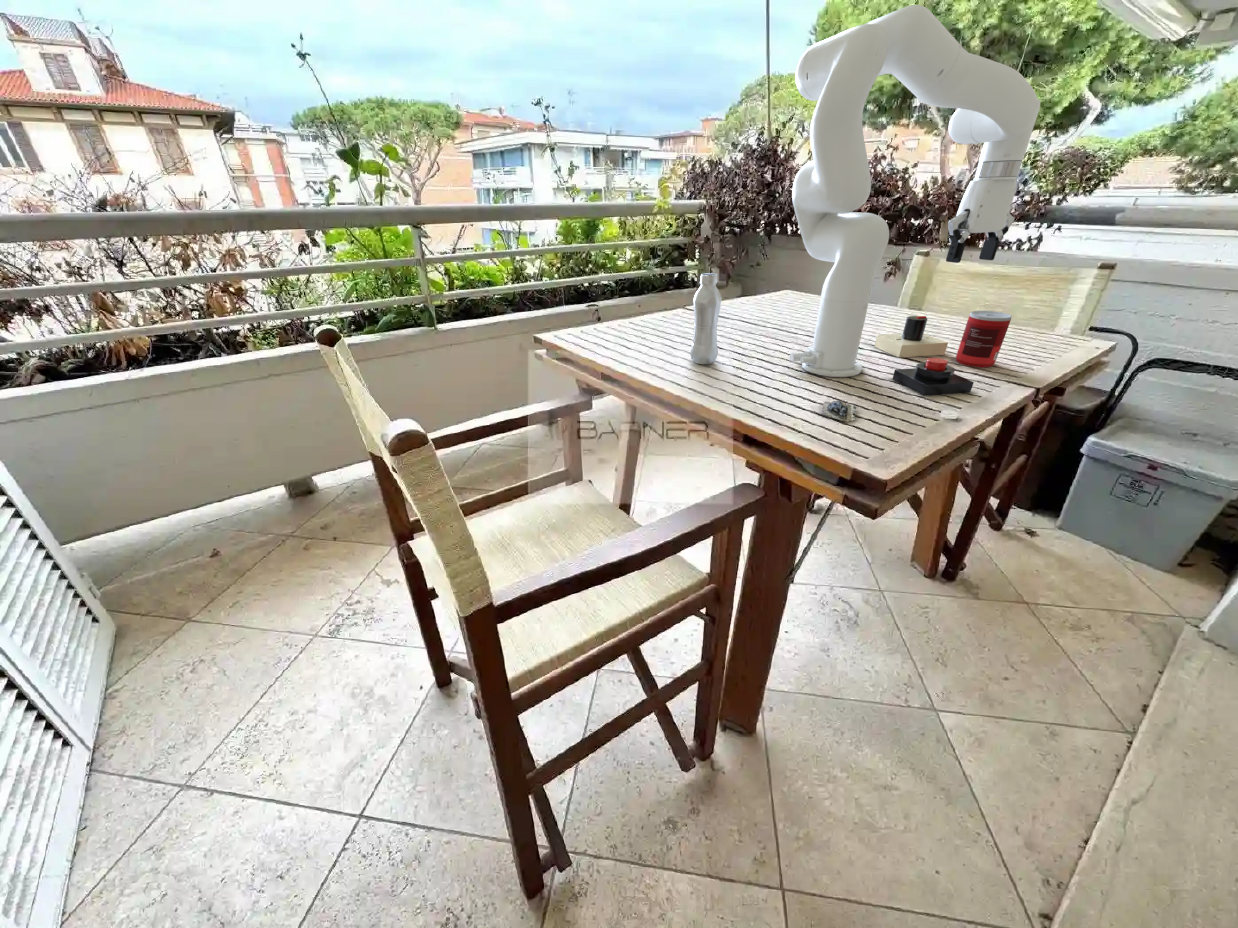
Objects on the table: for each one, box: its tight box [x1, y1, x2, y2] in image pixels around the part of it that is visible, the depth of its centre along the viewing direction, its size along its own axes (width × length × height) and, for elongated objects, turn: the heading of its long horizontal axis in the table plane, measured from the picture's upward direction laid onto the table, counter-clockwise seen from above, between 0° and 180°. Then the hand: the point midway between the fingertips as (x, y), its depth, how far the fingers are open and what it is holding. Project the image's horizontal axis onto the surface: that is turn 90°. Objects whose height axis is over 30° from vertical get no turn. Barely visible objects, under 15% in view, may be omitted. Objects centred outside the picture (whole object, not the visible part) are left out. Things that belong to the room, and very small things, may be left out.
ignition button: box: [925, 357, 949, 370], centre depth 97 cm, size 4×4×2 cm
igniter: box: [892, 361, 975, 397], centre depth 98 cm, size 10×10×4 cm
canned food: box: [955, 310, 1013, 369], centre depth 109 cm, size 8×8×11 cm
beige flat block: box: [874, 333, 949, 358], centre depth 120 cm, size 12×10×3 cm
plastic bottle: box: [689, 272, 723, 365], centre depth 111 cm, size 6×7×20 cm
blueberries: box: [821, 400, 857, 423], centre depth 87 cm, size 7×8×2 cm
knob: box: [901, 315, 928, 341], centre depth 118 cm, size 4×4×5 cm
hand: (969, 261), depth 109 cm, fingers open, 9 cm apart
